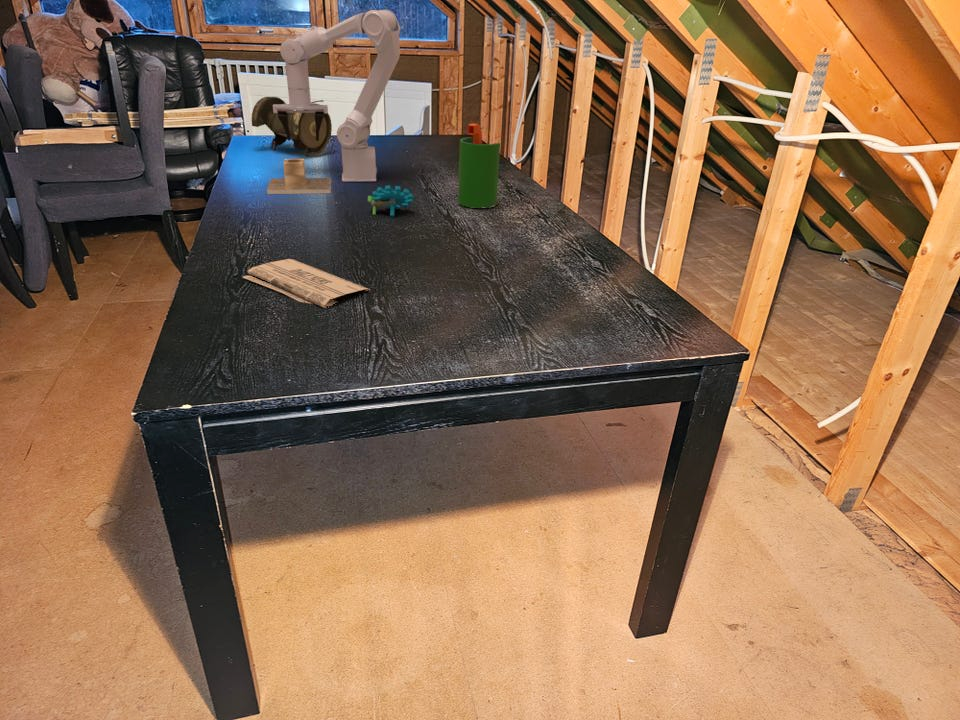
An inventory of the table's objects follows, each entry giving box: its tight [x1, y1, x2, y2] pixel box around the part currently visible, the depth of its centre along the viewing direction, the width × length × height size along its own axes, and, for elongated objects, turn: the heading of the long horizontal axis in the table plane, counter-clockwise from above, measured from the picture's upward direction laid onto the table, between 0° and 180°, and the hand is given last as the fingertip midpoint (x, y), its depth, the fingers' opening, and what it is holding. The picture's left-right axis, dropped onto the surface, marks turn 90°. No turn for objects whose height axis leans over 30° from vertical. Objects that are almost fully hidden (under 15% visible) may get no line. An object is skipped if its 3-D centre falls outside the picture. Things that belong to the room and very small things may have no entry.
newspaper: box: [242, 258, 371, 309], centre depth 119 cm, size 23×12×2 cm, turn 52°
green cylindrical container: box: [457, 123, 501, 208], centre depth 163 cm, size 10×9×20 cm
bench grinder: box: [251, 96, 333, 158], centre depth 208 cm, size 20×22×20 cm
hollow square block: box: [282, 158, 307, 186], centre depth 173 cm, size 5×5×6 cm
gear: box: [367, 184, 414, 218], centre depth 157 cm, size 11×6×10 cm
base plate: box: [266, 177, 332, 195], centre depth 174 cm, size 16×12×5 cm
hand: (303, 139), depth 184 cm, fingers open, 7 cm apart
